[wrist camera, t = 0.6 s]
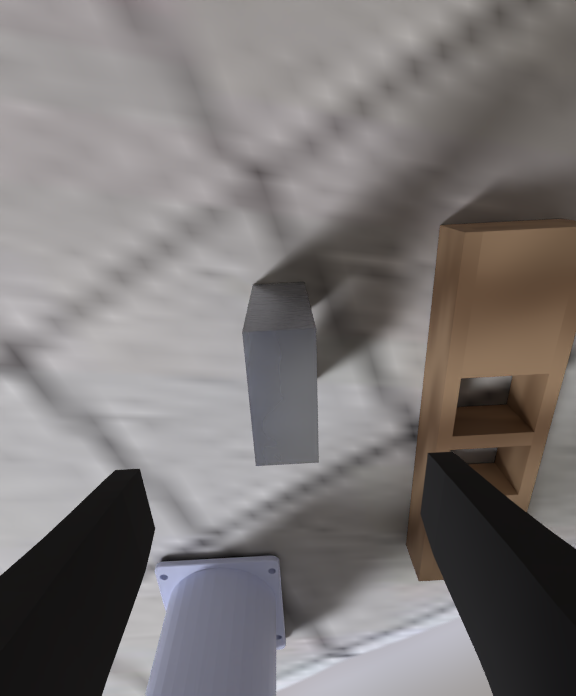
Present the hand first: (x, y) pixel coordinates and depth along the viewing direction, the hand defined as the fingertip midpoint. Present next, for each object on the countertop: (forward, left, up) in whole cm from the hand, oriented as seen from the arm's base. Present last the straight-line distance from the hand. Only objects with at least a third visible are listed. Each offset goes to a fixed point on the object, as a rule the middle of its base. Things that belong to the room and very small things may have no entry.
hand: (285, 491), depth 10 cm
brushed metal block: (0, 0, -10) cm, 10 cm away
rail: (-5, -10, -10) cm, 15 cm away
